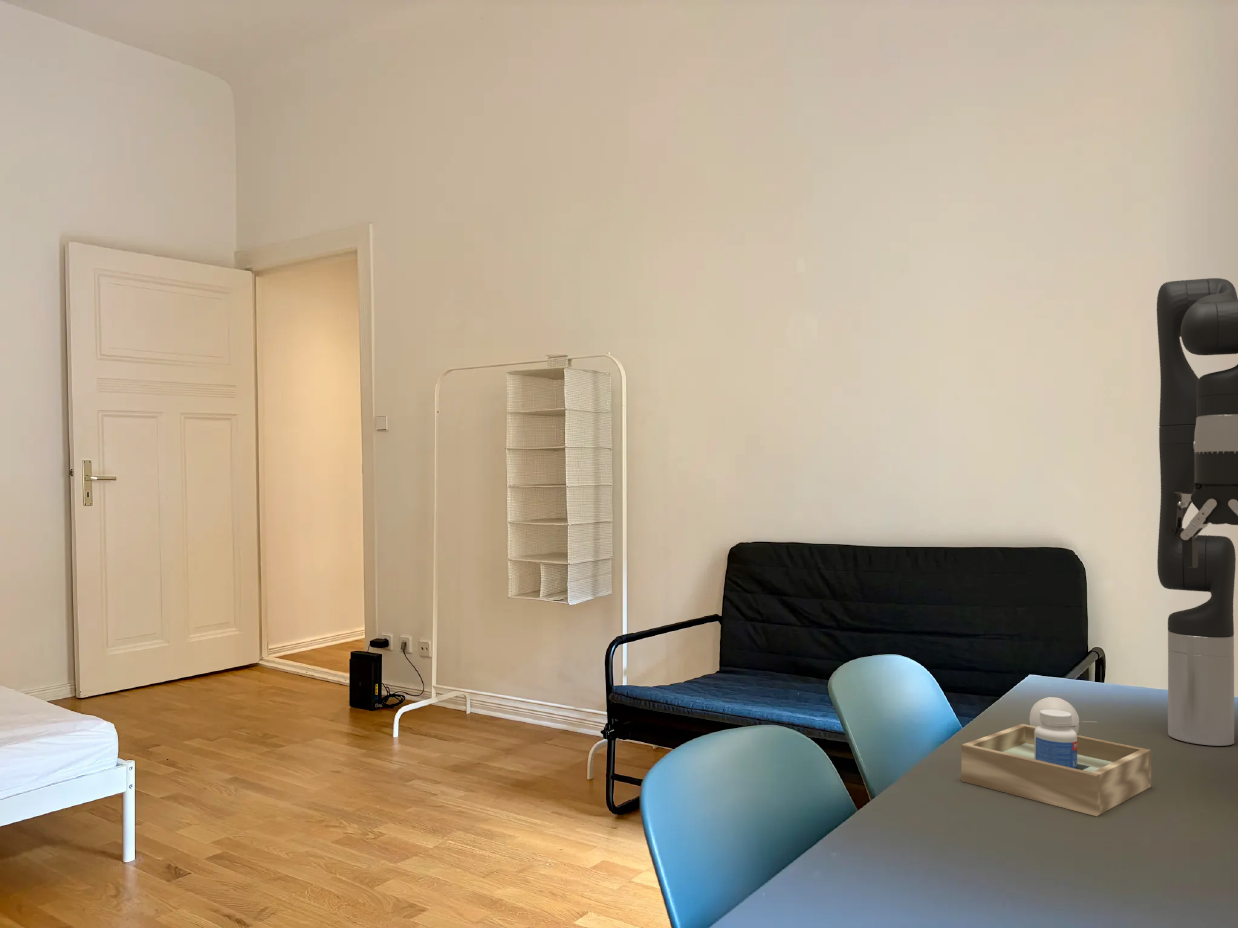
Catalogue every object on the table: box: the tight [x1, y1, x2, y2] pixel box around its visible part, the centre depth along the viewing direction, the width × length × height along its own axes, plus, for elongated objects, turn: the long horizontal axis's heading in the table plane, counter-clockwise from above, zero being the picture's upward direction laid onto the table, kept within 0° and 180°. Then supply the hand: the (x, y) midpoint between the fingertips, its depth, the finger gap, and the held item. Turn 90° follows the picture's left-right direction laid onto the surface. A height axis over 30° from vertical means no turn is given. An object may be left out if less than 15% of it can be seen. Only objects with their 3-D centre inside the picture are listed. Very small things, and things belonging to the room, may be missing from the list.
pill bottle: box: [1034, 710, 1078, 769], centre depth 130 cm, size 6×5×10 cm
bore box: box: [960, 723, 1152, 817], centre depth 130 cm, size 18×18×5 cm
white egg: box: [1029, 696, 1098, 735], centre depth 149 cm, size 10×7×7 cm
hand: (1227, 569), depth 127 cm, fingers open, 8 cm apart
